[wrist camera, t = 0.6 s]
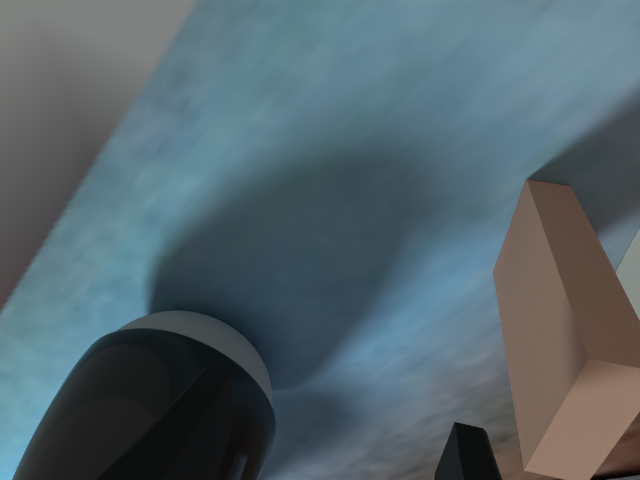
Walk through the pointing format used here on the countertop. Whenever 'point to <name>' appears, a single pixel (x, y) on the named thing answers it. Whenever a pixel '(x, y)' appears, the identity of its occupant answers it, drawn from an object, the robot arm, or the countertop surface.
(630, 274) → the domino
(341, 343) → the countertop surface
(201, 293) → the countertop surface
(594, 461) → the end domino
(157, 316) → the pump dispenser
